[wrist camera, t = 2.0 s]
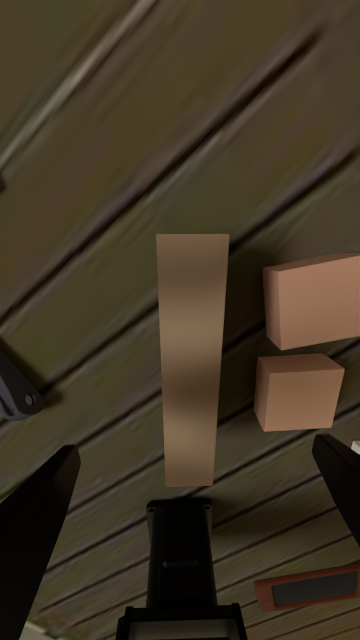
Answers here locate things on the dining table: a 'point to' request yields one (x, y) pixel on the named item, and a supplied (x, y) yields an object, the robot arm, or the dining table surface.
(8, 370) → the bracket
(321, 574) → the smartphone
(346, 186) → the dining table surface
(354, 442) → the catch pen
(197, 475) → the bar
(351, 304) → the tile
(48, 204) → the dining table surface
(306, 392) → the tile
